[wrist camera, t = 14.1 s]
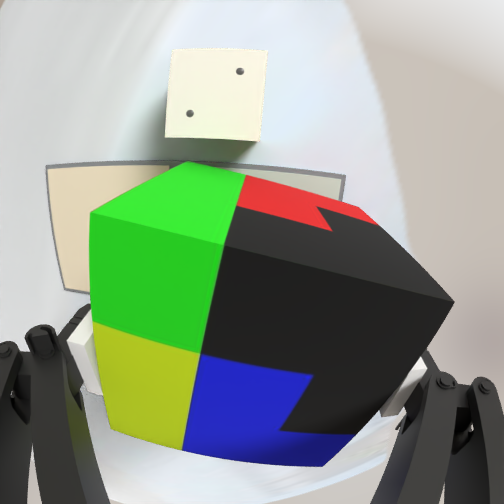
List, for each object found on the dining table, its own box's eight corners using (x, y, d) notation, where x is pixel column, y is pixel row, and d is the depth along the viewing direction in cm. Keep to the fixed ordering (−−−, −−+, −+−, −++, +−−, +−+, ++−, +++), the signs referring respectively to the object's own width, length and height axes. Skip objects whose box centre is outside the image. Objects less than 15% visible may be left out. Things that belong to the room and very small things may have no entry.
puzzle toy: (303, 340, 20) (322, 466, 11) (164, 308, 19) (110, 428, 10) (358, 207, 16) (454, 302, 7) (187, 161, 15) (89, 212, 6)
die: (187, 135, 17) (164, 138, 13) (192, 66, 15) (171, 49, 11) (259, 139, 17) (259, 142, 13) (266, 69, 15) (268, 50, 11)
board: (65, 288, 22) (63, 290, 22) (46, 165, 18) (44, 165, 17) (317, 316, 22) (318, 318, 22) (345, 174, 18) (346, 175, 18)
